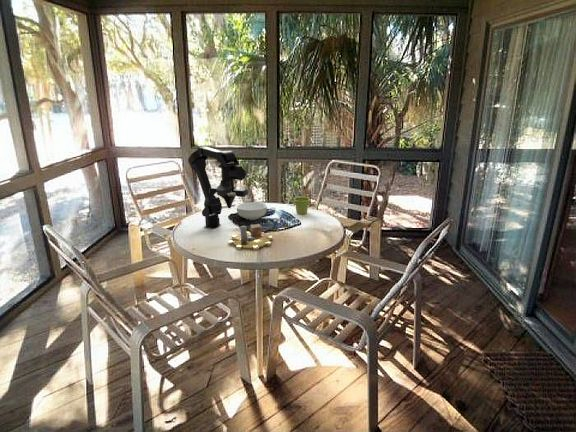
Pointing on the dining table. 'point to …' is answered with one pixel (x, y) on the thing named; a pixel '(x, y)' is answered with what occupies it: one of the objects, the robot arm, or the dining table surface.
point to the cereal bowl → (252, 210)
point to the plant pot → (301, 205)
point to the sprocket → (250, 240)
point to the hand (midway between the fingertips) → (229, 208)
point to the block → (256, 230)
